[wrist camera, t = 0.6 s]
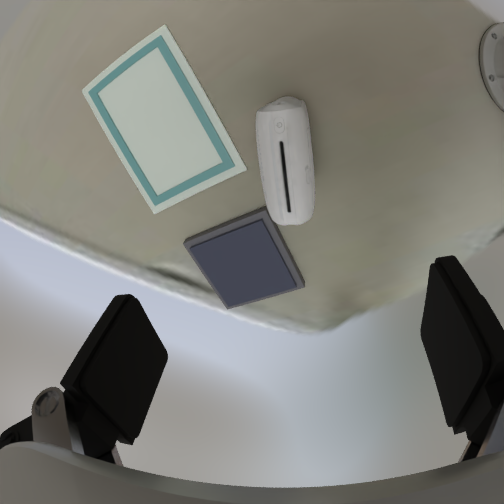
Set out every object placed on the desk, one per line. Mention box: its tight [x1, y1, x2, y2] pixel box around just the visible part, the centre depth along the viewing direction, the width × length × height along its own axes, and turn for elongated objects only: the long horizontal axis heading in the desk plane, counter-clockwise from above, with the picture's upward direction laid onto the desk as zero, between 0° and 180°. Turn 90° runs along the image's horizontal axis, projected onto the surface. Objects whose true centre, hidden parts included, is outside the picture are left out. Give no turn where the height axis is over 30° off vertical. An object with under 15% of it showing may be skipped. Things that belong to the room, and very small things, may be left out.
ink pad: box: [183, 206, 305, 309], centre depth 41 cm, size 12×12×2 cm
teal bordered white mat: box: [82, 24, 247, 214], centre depth 33 cm, size 14×20×1 cm
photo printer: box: [256, 96, 315, 225], centre depth 27 cm, size 10×4×12 cm, turn 8°
